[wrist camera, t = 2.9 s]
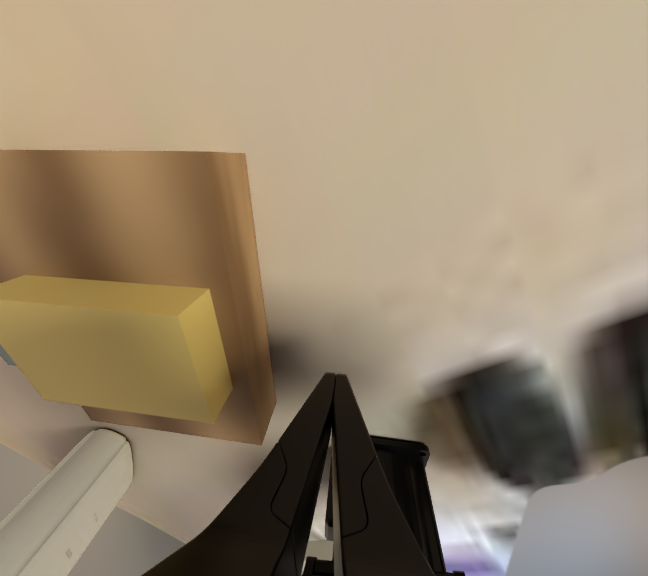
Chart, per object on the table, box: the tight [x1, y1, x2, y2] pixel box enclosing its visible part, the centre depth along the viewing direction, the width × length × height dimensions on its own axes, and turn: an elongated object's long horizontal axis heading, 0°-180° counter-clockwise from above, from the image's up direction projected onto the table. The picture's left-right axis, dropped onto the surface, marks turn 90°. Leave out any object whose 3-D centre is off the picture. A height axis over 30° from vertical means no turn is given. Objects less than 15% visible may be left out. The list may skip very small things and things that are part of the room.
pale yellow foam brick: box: [0, 275, 233, 424], centre depth 11 cm, size 9×6×2 cm, turn 89°
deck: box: [0, 150, 276, 445], centre depth 13 cm, size 12×16×3 cm
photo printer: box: [0, 429, 133, 576], centre depth 20 cm, size 10×4×12 cm, turn 159°
